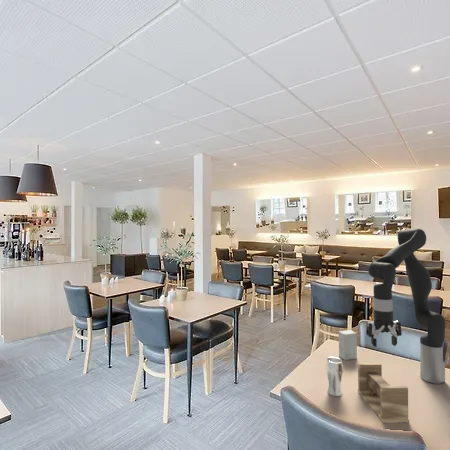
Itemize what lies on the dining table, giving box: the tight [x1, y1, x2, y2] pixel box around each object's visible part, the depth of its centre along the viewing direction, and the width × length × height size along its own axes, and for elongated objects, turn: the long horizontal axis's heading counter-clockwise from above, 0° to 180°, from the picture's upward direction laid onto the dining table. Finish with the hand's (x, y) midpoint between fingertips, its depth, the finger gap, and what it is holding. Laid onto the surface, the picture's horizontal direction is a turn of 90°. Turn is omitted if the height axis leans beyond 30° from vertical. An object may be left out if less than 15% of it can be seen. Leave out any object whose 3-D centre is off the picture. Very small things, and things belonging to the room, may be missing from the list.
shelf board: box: [367, 373, 391, 398], centre depth 127 cm, size 16×4×5 cm, turn 1°
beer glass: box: [326, 356, 344, 397], centre depth 137 cm, size 7×7×15 cm
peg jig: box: [357, 362, 410, 424], centre depth 127 cm, size 22×10×13 cm, turn 0°
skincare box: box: [338, 329, 358, 361], centre depth 173 cm, size 8×6×15 cm
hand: (384, 345), depth 131 cm, fingers open, 8 cm apart
